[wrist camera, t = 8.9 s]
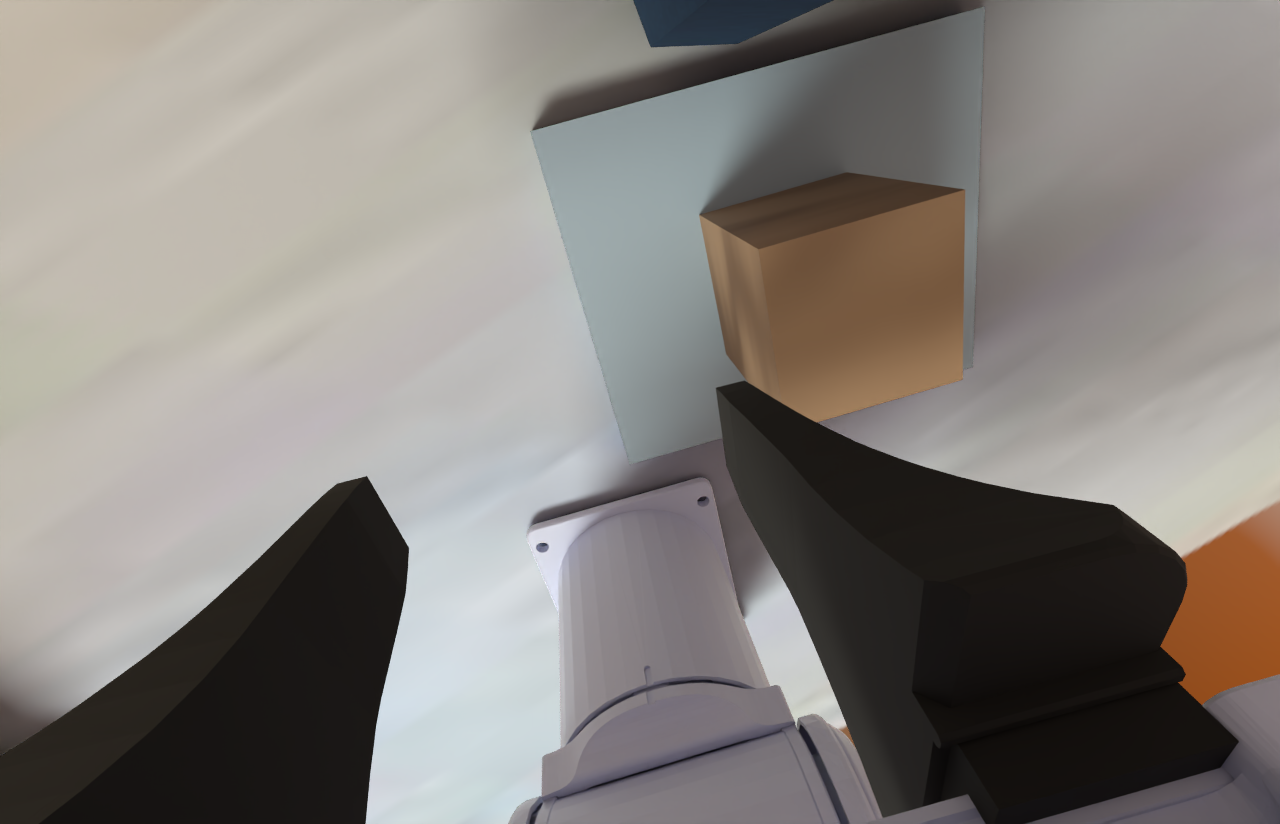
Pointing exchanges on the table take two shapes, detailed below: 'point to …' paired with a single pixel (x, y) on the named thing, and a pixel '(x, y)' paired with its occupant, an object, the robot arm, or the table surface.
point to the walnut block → (841, 290)
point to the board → (743, 198)
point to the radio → (715, 19)
